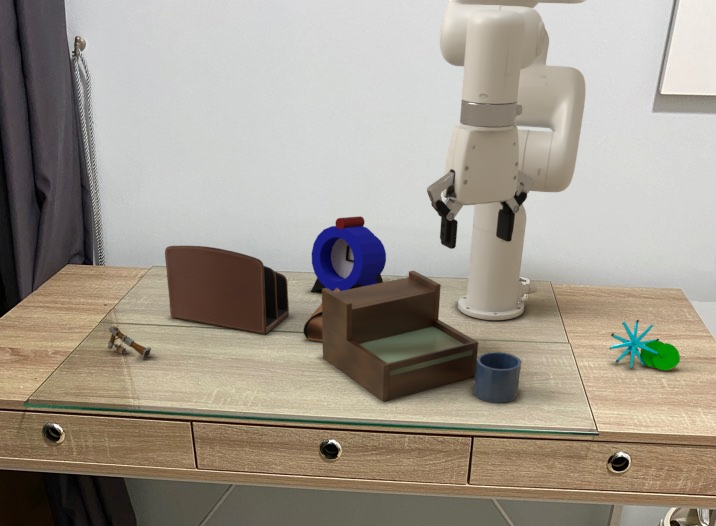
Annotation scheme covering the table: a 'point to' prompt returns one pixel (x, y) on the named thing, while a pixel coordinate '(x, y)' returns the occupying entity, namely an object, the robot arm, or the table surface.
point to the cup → (497, 377)
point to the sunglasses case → (315, 325)
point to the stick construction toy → (648, 350)
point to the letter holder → (225, 289)
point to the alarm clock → (347, 256)
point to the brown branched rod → (128, 341)
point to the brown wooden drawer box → (394, 337)
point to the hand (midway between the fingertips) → (476, 242)
